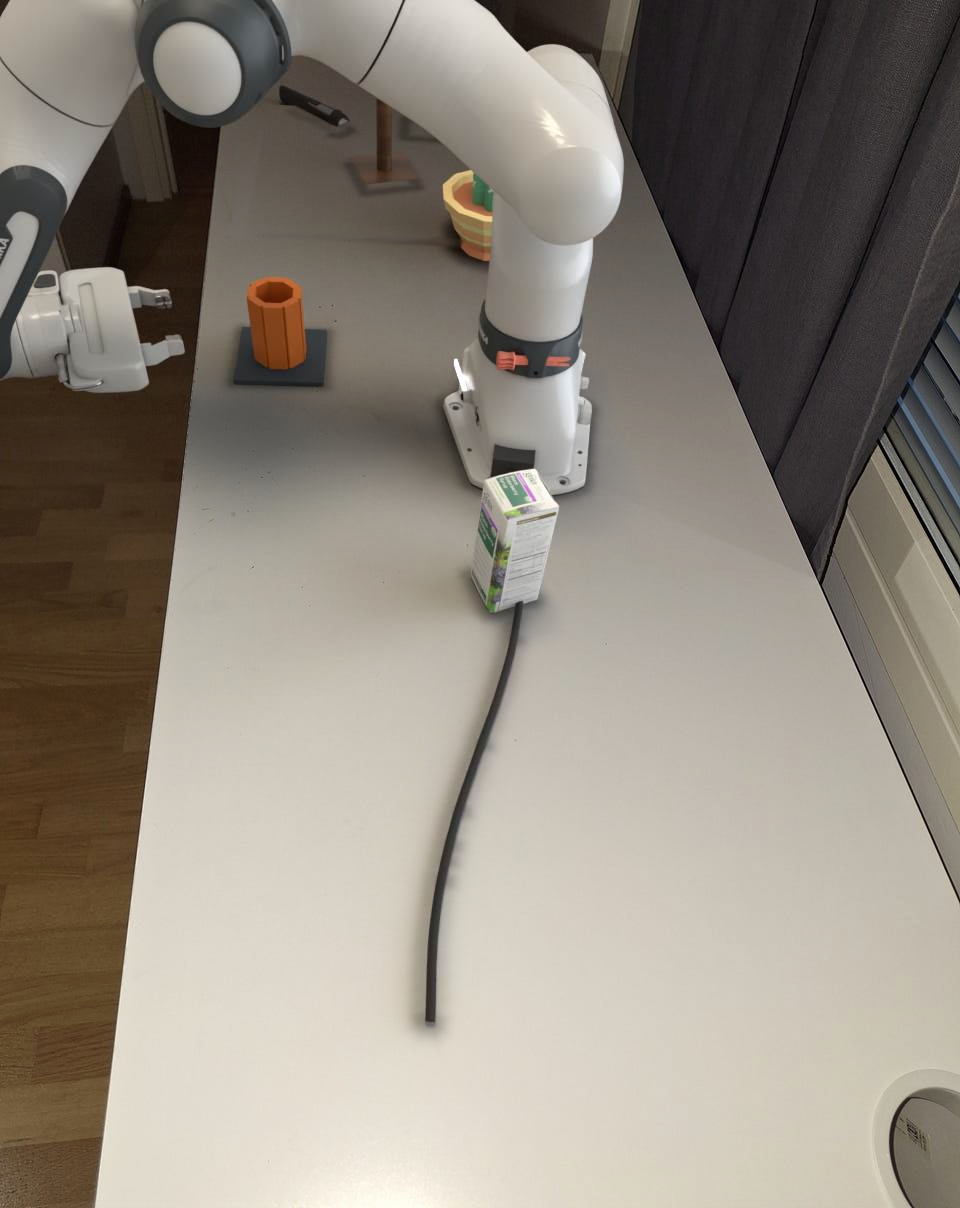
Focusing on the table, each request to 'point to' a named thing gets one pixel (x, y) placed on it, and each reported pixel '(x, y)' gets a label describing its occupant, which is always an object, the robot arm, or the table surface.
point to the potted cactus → (470, 212)
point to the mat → (298, 375)
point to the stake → (384, 154)
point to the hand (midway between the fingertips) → (176, 320)
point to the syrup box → (513, 538)
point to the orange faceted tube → (277, 322)
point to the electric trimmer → (312, 106)
